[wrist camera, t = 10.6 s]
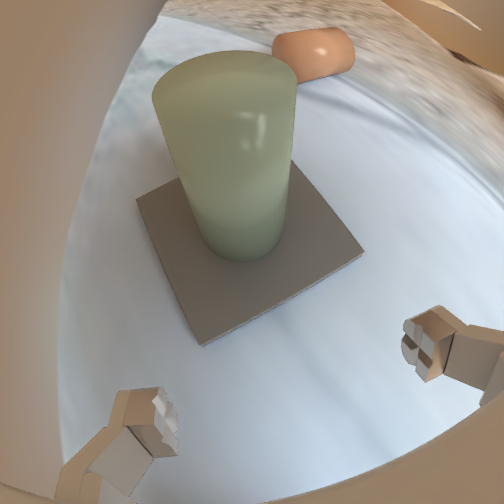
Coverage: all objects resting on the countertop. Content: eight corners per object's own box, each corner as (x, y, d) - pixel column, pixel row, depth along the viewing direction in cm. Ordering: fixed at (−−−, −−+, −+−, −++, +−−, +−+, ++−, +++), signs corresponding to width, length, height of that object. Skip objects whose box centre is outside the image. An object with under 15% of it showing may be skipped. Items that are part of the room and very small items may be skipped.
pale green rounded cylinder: (257, 178, 21) (252, 41, 11) (300, 236, 19) (327, 94, 9) (188, 211, 20) (138, 78, 10) (223, 276, 18) (178, 147, 8)
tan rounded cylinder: (351, 27, 23) (357, 76, 27) (316, 26, 27) (323, 69, 31) (299, 33, 21) (310, 88, 26) (267, 34, 25) (278, 80, 30)
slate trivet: (271, 144, 24) (271, 137, 23) (361, 256, 19) (364, 251, 19) (139, 205, 22) (135, 199, 21) (202, 346, 17) (199, 345, 16)
